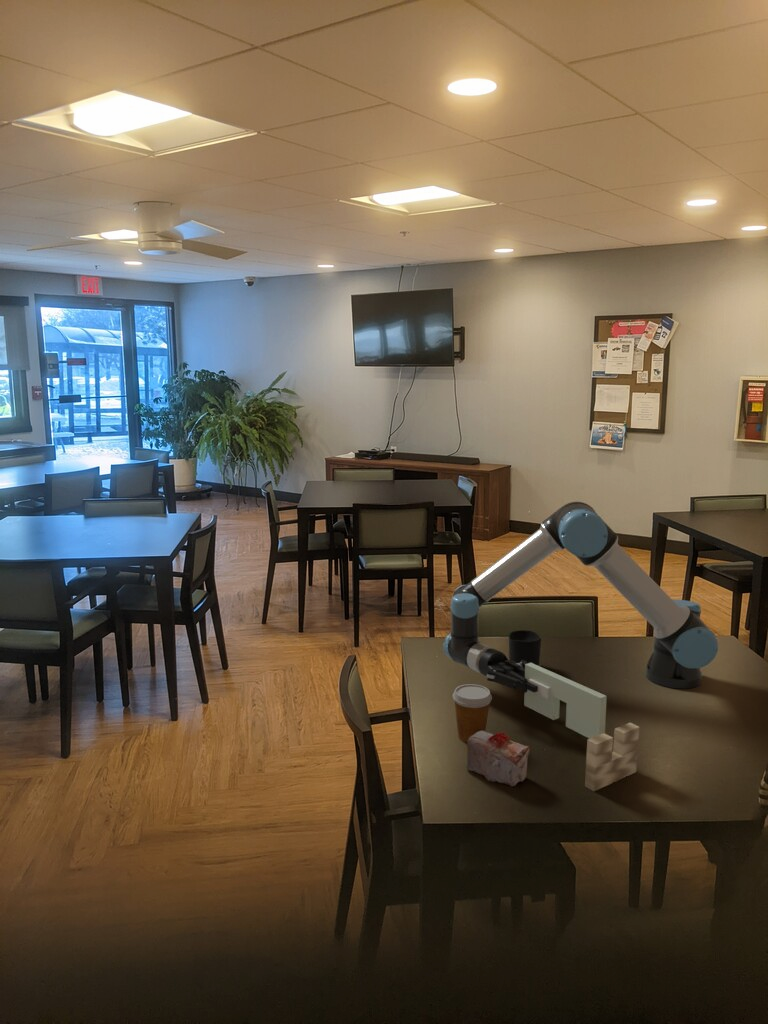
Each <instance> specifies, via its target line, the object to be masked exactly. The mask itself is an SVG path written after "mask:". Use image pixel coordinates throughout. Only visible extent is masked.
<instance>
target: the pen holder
mask: <svg viewBox="0 0 768 1024" xmlns="http://www.w3.org/2000/svg"><path fill="white" fill-rule="evenodd" d="M541 644H542V638H541V637H540V636H539V635H538V634H537V633H536V632H534V631H532V630H526V629H523V630H521V629H520V630H519V629H518V630H514V631H511V632H510V633H509V634H508V660H510V661H514V662H515V663H520V662H521V660H525V661H526V662H527V663H533V664H535V665H538V666H540V658H541V647H542V646H541Z"/></svg>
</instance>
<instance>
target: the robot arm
mask: <svg viewBox="0 0 768 1024" xmlns="http://www.w3.org/2000/svg"><path fill="white" fill-rule="evenodd" d="M618 541H619V536H618V534H617V533H616V532H615V531H614V530H613V529H612V528H611V527H610V525H608V524H607V523H606V522H605V521H604V520H603V519H602V518H601V516H600V515H599V514H598V513H597V512H596V510H595V509H594V508H593V507H592V506H591V505H589V504H588V503H585V502H582V501H571V502H568V503H566V504H564V505H562V506H561V507H559V508H558V509H557V510H556V511H554V512H553V513H552V514H551V515H549V516H548V517H547V518H546V519H544V520H543V521H542V522H541V523H540V527H539V529H537V530H536V531H535V532H534V533H532V534H531V535H530V536H528V537H526V538H525V539H524V540H523V541H521V542H520V543H519V544H517V545H516V546H515V547H513V548H512V549H511V550H510V551H509V552H507V553H505V554H504V555H503V556H502V557H501V558H499V559H498V560H497V561H495V562H494V563H493V564H492V565H490V566H489V567H488V568H486V569H485V570H484V571H482V572H481V573H480V574H479V575H477V576H476V577H474V578H473V579H472V580H471V581H470V582H468V583H467V584H462V585H460V586H458V587H457V588H455V590H454V591H453V594H452V597H451V602H450V633H449V634H448V635H447V636H446V637H445V639H444V642H443V644H442V649H443V653H444V654H445V656H446V657H447V658H449V659H451V660H452V661H453V662H455V663H458V664H461V665H463V666H465V667H467V668H469V669H471V670H473V671H475V672H477V673H479V674H481V675H483V676H485V677H486V680H487V682H493V683H496V684H500V685H502V686H504V687H507V688H509V689H512V690H514V691H520V690H521V689H522V693H526V692H527V690H530V691H532V692H534V693H536V694H538V695H540V696H542V697H545V698H547V699H549V698H550V688H549V687H547V686H545V685H543V684H541V683H539V682H537V681H534V680H532V679H529V682H528V681H527V679H526V678H525V664H528V663H527V662H526V661H525V660H521V662H520V663H515V662H514V661H510V660H509V658H508V657H507V656H506V654H505V653H504V652H503V651H501V650H498V649H496V648H493V647H491V646H489V645H487V644H484V643H482V642H480V641H479V611H480V608H481V607H483V606H484V605H485V604H486V603H487V602H489V601H490V600H491V599H492V598H493V597H495V596H497V595H498V594H500V592H503V590H505V589H506V588H507V587H509V586H510V585H511V584H513V583H514V582H516V580H518V579H519V578H520V577H522V576H524V575H525V574H526V573H527V572H528V571H530V570H532V569H533V568H534V567H535V566H537V565H538V564H539V563H541V562H542V561H544V560H546V558H547V557H549V556H550V555H552V554H553V553H554V552H556V551H558V550H560V551H563V550H564V549H565V550H567V552H569V553H571V554H572V555H573V556H575V557H576V558H577V559H578V560H579V561H580V562H581V563H582V564H583V565H584V566H586V567H594V568H595V569H596V570H597V571H598V572H599V573H600V574H601V575H602V576H603V577H604V579H606V580H607V581H608V583H609V584H611V585H612V586H613V588H615V590H616V591H618V592H619V594H621V596H623V598H625V599H626V600H627V601H628V602H629V604H631V606H632V607H633V608H634V609H636V610H637V611H636V612H638V613H639V614H640V615H641V616H642V617H643V618H644V619H645V620H646V621H647V623H649V624H650V625H651V626H652V627H653V636H654V640H653V641H654V642H653V650H652V653H651V655H650V658H649V660H648V662H647V664H646V666H645V677H646V678H647V679H648V680H650V681H651V682H653V683H655V685H660V686H662V687H667V688H673V689H692V688H696V687H698V686H700V685H701V683H702V677H703V676H702V675H703V674H702V671H701V668H703V667H706V666H708V665H709V664H710V663H712V661H714V660H715V658H716V656H717V655H718V651H719V643H718V639H717V636H716V634H715V633H714V631H712V630H710V628H709V627H708V625H706V624H705V623H704V621H703V620H702V619H701V615H702V614H701V613H702V609H701V607H702V606H701V605H700V604H699V603H697V602H694V601H691V600H686V599H672V598H671V597H670V596H669V595H668V594H667V592H666V591H664V589H663V588H662V587H660V586H659V584H657V582H656V581H654V580H653V579H652V578H651V577H650V575H648V573H647V572H646V571H645V570H644V569H643V568H642V567H641V566H640V565H639V564H638V563H637V562H636V561H635V560H634V559H633V558H632V557H631V556H630V555H629V554H628V553H627V552H626V551H625V550H624V549H623V547H622V546H621V545H619V542H618Z"/></svg>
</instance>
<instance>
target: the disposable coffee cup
mask: <svg viewBox="0 0 768 1024" xmlns="http://www.w3.org/2000/svg"><path fill="white" fill-rule="evenodd" d="M492 699H493V696H492V694H491V691H490V689H489V688H488V687H486V686H483V685H481V684H476V683H475V684H473V683H470V684H469V683H468V684H467V683H466V684H462V685H458V686H457V687H455V689H454V692H453V693H452V700H453V701H454V707H455V714H456V715H455V718H456V727H457V734H458V739H459V740H460V741H462V742H464V743H467V741H468V739H469V737H470V736H472V735H473V734H475V733H476V732H479V731H485V732H486V727H487V722H488V715H489V711H490V703H491V701H492Z"/></svg>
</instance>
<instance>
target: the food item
mask: <svg viewBox="0 0 768 1024" xmlns="http://www.w3.org/2000/svg"><path fill="white" fill-rule="evenodd" d="M466 744H467V745H466V747H467V748H466V750H467V751H466V755H467V756H466V759H467V760H466V770H467V771H471V772H475V773H476V774H479V775H481V776H484V777H485V779H486V780H487V781H489V782H494V783H495V782H497V783H500V784H505V785H508V786H510V787H515V786H516V785H517V784H518V783H520V782H524V780H526V778H527V769H528V758H529V755H530V746H529V745H524V744H521V743H519V742H516V741H512V740H511V737H510V736H509V735H506V733H505V732H500V731H499V732H495V734H493V733H490V732H488V731H486V730H485V731H479V732H476V733H475V734H473V735H472V736H470V737H469V739H468V741H467V742H466Z"/></svg>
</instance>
